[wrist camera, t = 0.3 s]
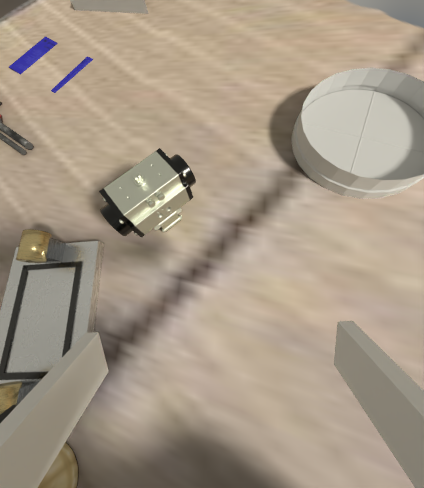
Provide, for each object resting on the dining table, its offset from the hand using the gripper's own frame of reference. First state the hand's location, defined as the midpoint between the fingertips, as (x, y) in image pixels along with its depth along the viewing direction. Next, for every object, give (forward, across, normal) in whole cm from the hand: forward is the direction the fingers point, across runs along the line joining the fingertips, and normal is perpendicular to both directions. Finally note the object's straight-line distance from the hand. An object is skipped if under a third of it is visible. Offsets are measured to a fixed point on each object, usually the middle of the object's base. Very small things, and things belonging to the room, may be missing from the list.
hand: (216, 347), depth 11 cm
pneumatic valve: (+24, +8, -4) cm, 26 cm away
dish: (+30, -25, -14) cm, 42 cm away
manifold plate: (+16, +26, +8) cm, 32 cm away
